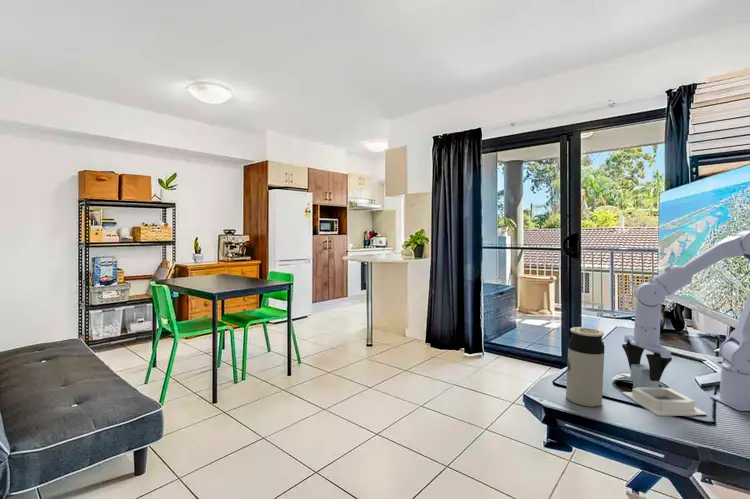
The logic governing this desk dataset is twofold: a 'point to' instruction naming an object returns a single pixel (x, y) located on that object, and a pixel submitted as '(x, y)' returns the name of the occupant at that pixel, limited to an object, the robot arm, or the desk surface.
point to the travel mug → (585, 366)
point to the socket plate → (664, 401)
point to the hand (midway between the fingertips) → (644, 375)
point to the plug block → (642, 376)
